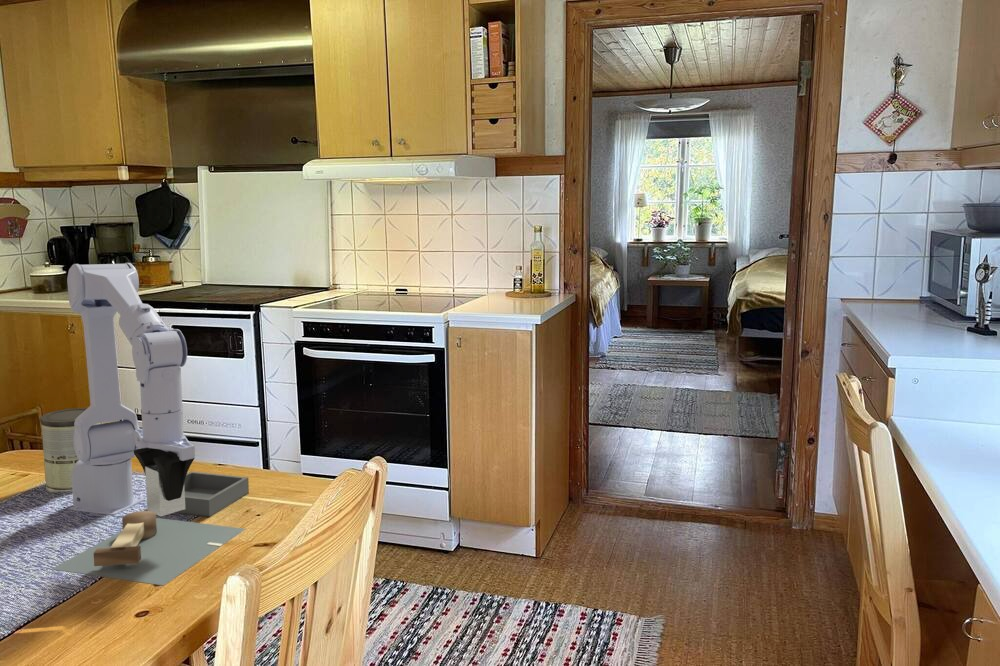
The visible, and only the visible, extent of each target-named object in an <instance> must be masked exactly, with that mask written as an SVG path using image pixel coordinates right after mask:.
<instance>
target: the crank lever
mask: <svg viewBox="0 0 1000 666" xmlns="http://www.w3.org/2000/svg"><path fill="white" fill-rule="evenodd" d="M156 518H157V515H156V514H154V513H152V512H150V511H148V510H140V511H139V510H138V511H134V512H130V513H128V514H125V515H124V516H122V520H121V521H122V530H121V531H122V532H121V531H120V532H121V533H120V535H119V536H118V537H117V539H116V540H115V542H114V543H113V544H112V546H111V547H110V548H100V549H96V551H95V552H94V553H93V554H94V566H106V565H121V564H137V563H139V562H140V560H141V546H137V545H138V543H139V542H140V540H143V539H147V538H150V537H152V536H154V535H155V534H156V533H157V524H156Z"/></svg>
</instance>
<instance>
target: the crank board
mask: <svg viewBox="0 0 1000 666" xmlns="http://www.w3.org/2000/svg"><path fill="white" fill-rule="evenodd" d="M156 524H157V533H156V534H155V535H154V536H152V537H150V538H147V539H143V540H140V542H139V543H138V545H137V546H141V560H140V562H139V563H137V564H121V565H106V566H94V554H93V553H94V552H95V551H96V549H100V548H110V547H111V546H112V544H113V543H114V542H115V540H116V539H117V537H118V536H119V535H120V533H121V532H122V530H121V531H119V532H117V533H115V534H113V535H112V536H110V537H108V538H106V539H104V540H102V541H100V542H99V543H97V544H95V545H93V546H91V547H89V548H88V549H86V550H84V551H82V552H80V553H78V554H76V555H74V556H72V557H71V558H69V559H67V560H65V561H64V562H61V563H60V564H58V565H56V566H55V567H52V568H51V570H52V571H53V570H54V571H62V572H66V573H67V572H69V573H74V574H81V575H89V576H95V577H101V578H109V579H114V580H115V579H116V580H123V581H129V582H135V583H142V584H150V585H156V586H161V587H162V586H163V587H164V586H165V585H167V584H168V583H170V582H171V581H173V580H175V579H176V578H177V577H179V576H180V575H182V574H183V573H184V572H186V571H187V570H188V569H190V568H191V567H193V566H194V565H196V564H198V563H199V562H200V561H202V560H204V559H205V558H207V557H208V556H209V555H210V554H212V553H213V552H215V551H216V550H218V549H220V548H221V547H222V546H224V545H225V544H227V543H228V542H229V541H232V539H233V538H235V537H236V536H238V535H239V534H241V533H243V532H244V531H246V528H242V527H233V526H226V525H218V524H209V523H202V522H201V523H200V522H193V521H186V520H178V519H171V518H170V519H169V518H160V517H156Z"/></svg>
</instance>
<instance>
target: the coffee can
mask: <svg viewBox="0 0 1000 666" xmlns="http://www.w3.org/2000/svg"><path fill="white" fill-rule="evenodd" d="M87 408H88V407H82V408H81V407H78V408H77V407H76V408H66V409H65V408H64V409H60V410H53V411H51V412H47V413H45V414H43V415H41V416H40V417H39V422H40V423H41V424H40V425H41V438H42V449H43V450H42V451H43V463H44V466H43V467H44V479H45V480H44V481H45V489H46V491H48V492H49V493H54V494H58V493H59V492H72V470H73V468H74V465H75V464H76V463H77V461H79V459H78V457H77V455H76V453H75V449H74V441H73V437H74V422H75V419H76V418H77V417H78V416H79V415H80V414H82V413H83V412H84V411H85V410H86V409H87ZM97 424H102V423H97ZM97 424H94V425H97Z"/></svg>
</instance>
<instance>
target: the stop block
mask: <svg viewBox="0 0 1000 666" xmlns="http://www.w3.org/2000/svg"><path fill="white" fill-rule="evenodd" d="M145 472H146V475H145V489H146V506H147V507H146V508H147V510H146V511H150V512H152V513H154V514H156V516H159V518H160V517H163V516H167V515H171V514H175V513H174V512H177V511H181V510H184V509H185V488H184V486H183V491H182V495H181V498H178V499H174V500H171V501H168V500H166V498H165V494H164V489H163V483H162V478H161V475H160V472H159V469H158V467H157V465H156V464H154V465H149V466H145Z"/></svg>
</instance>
